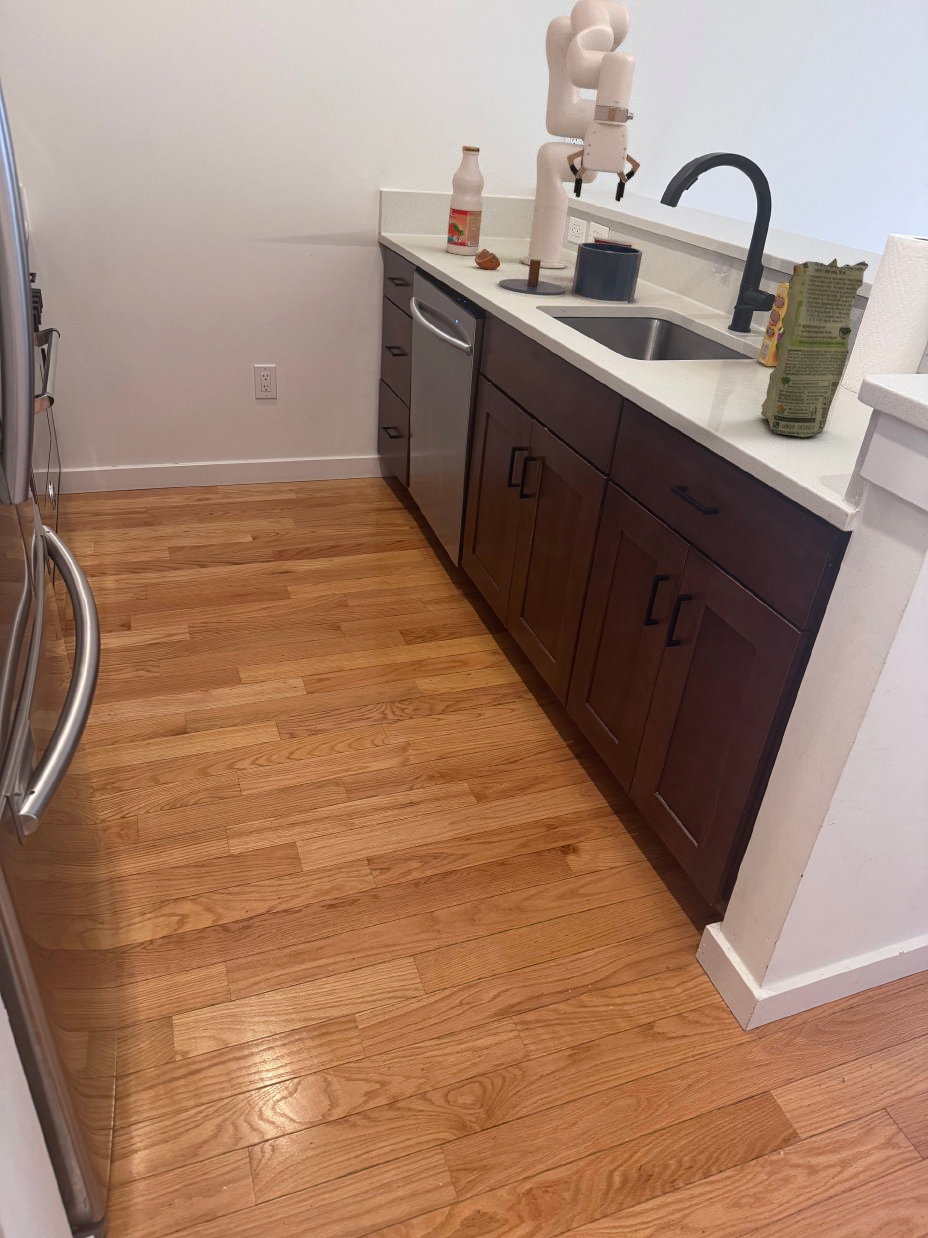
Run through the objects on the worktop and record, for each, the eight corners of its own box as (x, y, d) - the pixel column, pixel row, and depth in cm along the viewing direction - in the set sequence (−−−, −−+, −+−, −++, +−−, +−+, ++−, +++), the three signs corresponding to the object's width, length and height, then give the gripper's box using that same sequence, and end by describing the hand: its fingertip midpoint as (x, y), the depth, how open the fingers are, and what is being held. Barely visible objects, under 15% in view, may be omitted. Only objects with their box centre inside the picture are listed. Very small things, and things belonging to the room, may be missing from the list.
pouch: (748, 430, 135) (795, 257, 122) (755, 410, 144) (798, 248, 132) (823, 445, 132) (879, 269, 119) (825, 424, 141) (876, 259, 129)
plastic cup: (633, 288, 235) (642, 240, 229) (611, 291, 228) (619, 242, 222) (601, 280, 241) (608, 233, 235) (577, 283, 234) (585, 235, 228)
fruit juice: (480, 256, 258) (490, 149, 244) (448, 254, 257) (457, 146, 242) (474, 251, 266) (484, 147, 252) (444, 248, 264) (452, 143, 250)
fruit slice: (503, 273, 236) (505, 254, 234) (480, 272, 234) (482, 252, 232) (492, 267, 243) (494, 248, 240) (470, 266, 241) (471, 247, 238)
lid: (497, 281, 226) (501, 251, 222) (561, 287, 227) (565, 257, 223) (499, 293, 212) (503, 261, 208) (567, 300, 212) (572, 268, 209)
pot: (568, 287, 227) (575, 240, 221) (628, 293, 228) (637, 246, 222) (574, 299, 214) (582, 249, 208) (638, 306, 214) (647, 255, 208)
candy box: (767, 367, 172) (789, 285, 164) (756, 361, 175) (777, 280, 168) (807, 368, 174) (830, 288, 166) (795, 362, 177) (818, 283, 170)
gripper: (644, 120, 204) (630, 200, 213) (570, 112, 203) (559, 193, 212) (650, 120, 198) (636, 204, 206) (574, 112, 197) (563, 196, 205)
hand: (597, 198), depth 209 cm, fingers open, 9 cm apart
